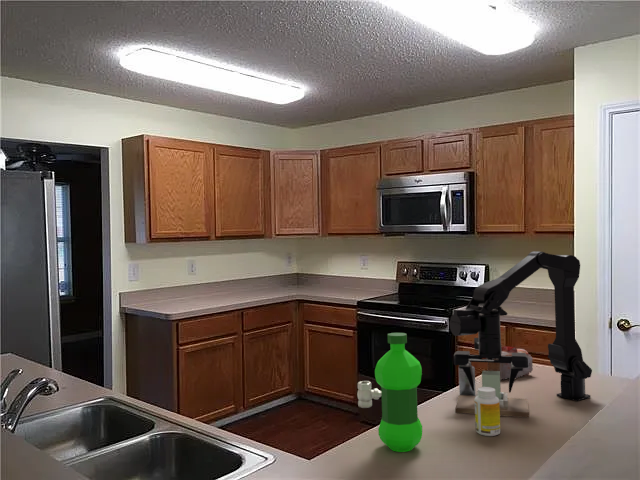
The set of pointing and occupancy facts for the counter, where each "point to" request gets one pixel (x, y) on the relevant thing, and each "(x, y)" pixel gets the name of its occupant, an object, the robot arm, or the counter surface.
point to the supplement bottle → (487, 412)
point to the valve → (366, 394)
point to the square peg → (492, 381)
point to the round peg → (466, 383)
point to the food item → (505, 367)
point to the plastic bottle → (399, 395)
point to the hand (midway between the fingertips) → (491, 391)
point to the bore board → (507, 405)
